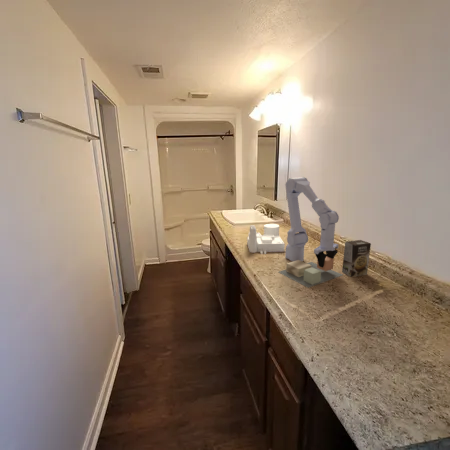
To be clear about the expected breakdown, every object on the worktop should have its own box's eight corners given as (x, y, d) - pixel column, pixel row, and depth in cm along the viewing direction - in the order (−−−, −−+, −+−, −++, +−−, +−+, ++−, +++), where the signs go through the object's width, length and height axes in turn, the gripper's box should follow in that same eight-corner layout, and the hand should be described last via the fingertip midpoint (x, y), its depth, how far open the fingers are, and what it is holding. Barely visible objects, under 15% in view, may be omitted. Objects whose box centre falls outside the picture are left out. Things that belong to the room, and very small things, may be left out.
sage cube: (303, 280, 118) (304, 269, 117) (311, 277, 120) (312, 267, 119) (312, 284, 114) (313, 273, 112) (320, 281, 116) (321, 271, 115)
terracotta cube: (316, 267, 126) (317, 257, 125) (324, 265, 128) (324, 255, 127) (325, 271, 122) (326, 261, 120) (332, 268, 124) (333, 258, 123)
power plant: (291, 254, 153) (292, 229, 150) (249, 255, 154) (249, 230, 150) (279, 236, 187) (279, 216, 184) (245, 237, 188) (245, 217, 184)
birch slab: (286, 271, 128) (286, 263, 127) (298, 267, 132) (298, 259, 131) (298, 277, 121) (298, 269, 120) (310, 273, 125) (311, 265, 124)
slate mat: (277, 273, 127) (277, 271, 127) (311, 263, 139) (311, 261, 138) (308, 289, 111) (308, 287, 111) (343, 276, 123) (343, 274, 122)
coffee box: (351, 279, 120) (354, 245, 116) (341, 273, 126) (344, 241, 122) (367, 276, 122) (371, 243, 118) (357, 271, 128) (360, 239, 125)
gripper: (323, 242, 114) (321, 271, 118) (345, 237, 121) (342, 264, 125) (310, 238, 120) (309, 266, 124) (332, 233, 127) (329, 260, 131)
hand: (325, 265), depth 125 cm, fingers closed on terracotta cube, 5 cm apart
